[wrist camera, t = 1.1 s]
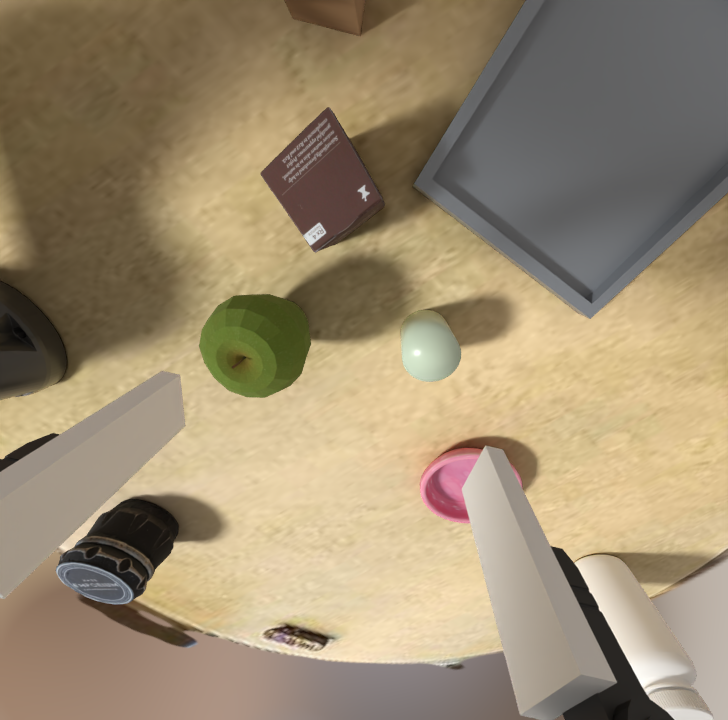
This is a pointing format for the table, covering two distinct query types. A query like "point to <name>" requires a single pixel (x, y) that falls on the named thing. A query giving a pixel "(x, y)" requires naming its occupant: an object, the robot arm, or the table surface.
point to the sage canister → (428, 346)
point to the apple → (256, 344)
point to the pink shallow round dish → (450, 483)
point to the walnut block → (330, 13)
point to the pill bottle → (644, 637)
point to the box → (323, 183)
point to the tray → (590, 140)
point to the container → (119, 552)
